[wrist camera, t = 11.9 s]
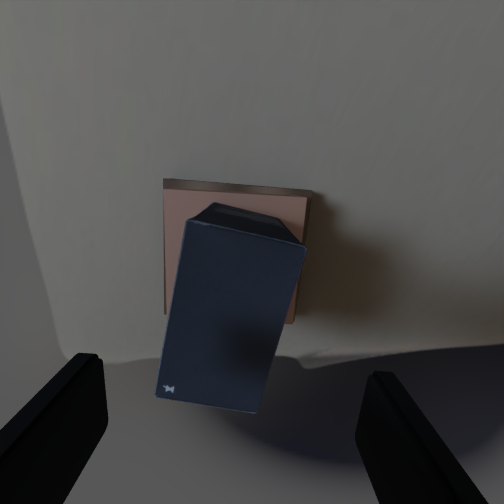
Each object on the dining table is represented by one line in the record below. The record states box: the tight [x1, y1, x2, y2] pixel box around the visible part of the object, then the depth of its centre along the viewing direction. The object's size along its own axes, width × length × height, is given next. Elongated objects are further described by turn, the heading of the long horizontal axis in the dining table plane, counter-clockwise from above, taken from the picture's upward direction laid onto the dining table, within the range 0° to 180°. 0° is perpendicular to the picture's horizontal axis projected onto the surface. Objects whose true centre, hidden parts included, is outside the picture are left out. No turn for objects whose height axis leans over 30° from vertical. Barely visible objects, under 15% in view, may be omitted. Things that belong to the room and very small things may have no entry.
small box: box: [154, 202, 307, 413], centre depth 19 cm, size 11×6×10 cm, turn 166°
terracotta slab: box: [163, 188, 307, 324], centre depth 25 cm, size 12×12×3 cm
